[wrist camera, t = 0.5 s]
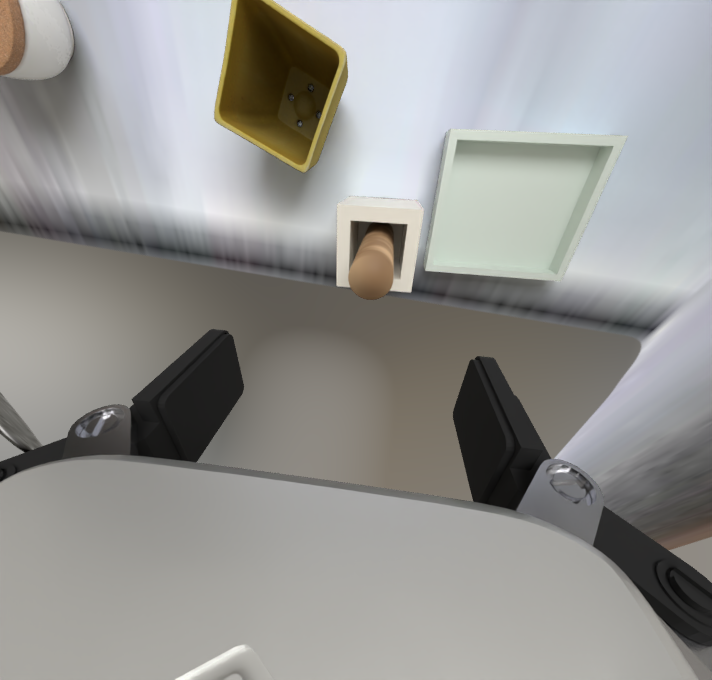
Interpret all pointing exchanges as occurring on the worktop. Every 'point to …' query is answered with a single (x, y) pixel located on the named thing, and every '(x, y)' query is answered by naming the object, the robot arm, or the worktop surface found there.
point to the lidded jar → (34, 39)
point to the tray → (516, 201)
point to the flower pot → (279, 82)
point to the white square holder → (396, 212)
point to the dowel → (374, 263)
